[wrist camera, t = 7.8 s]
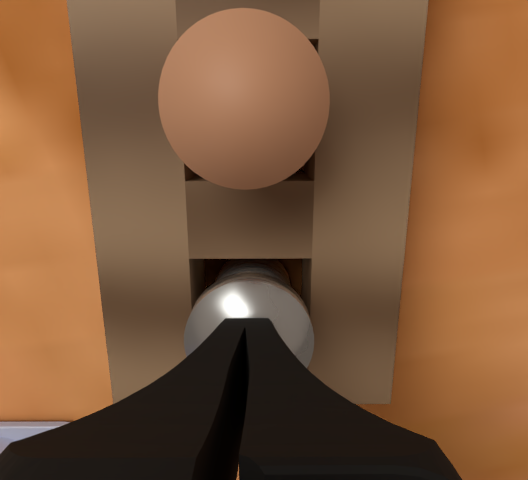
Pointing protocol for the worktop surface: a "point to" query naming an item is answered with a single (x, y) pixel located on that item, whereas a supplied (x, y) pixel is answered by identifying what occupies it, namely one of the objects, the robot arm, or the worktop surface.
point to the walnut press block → (253, 200)
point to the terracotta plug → (243, 98)
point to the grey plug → (253, 305)
